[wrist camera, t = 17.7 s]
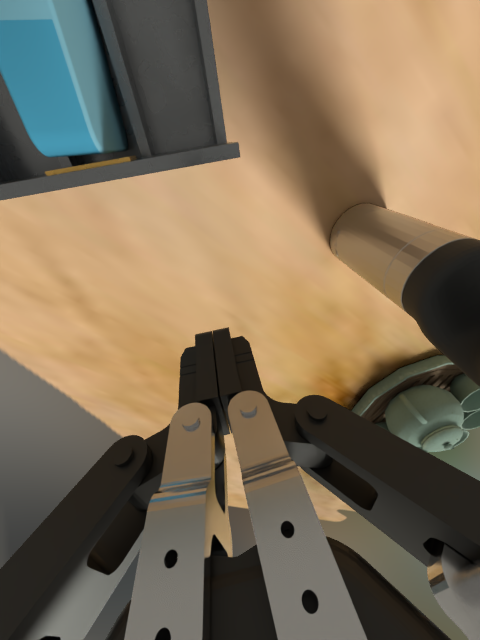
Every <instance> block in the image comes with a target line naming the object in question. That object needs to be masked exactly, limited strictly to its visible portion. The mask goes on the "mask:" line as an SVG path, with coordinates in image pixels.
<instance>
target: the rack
mask: <svg viewBox="0 0 480 640" xmlns="http://www.w3.org/2000/svg"><path fill="white" fill-rule="evenodd" d="M91 1H92V4H93V8H94V11H95V15H96V19H97V23H98V27H99V31H100V35H101V39H102V42H103V46H104V50H105V54H106V58H107V62H108V66H109V70H110V74H111V77H112V81H113V85H114V89H115V93H116V97H117V101H118V105H119V109H120V112H121V116H122V120H123V124H124V128H125V132H126V136H127V142H128V149H127V150H126V151H121V152H113V153H105V154H93V155H79V156H65V157H47V156H45V155H43V154H42V153H41V152H40V151H39V150H38V149H37V148H36V147H35V145H34V144H33V142H32V141H31V139H30V137H29V135H28V133H27V131H26V129H25V127H24V125H23V122H22V120H21V118H20V116H19V113H18V111H17V109H16V106H15V104H14V102H13V100H12V97H11V95H10V93H9V91H8V88H7V86H6V84H5V82H4V79H3V77H2V75H1V72H0V200H6V199H11V198H17V197H22V196H28V195H33V194H39V193H44V192H50V191H55V190H61V189H67V188H72V187H78V186H83V185H89V184H94V183H100V182H105V181H111V180H116V179H122V178H127V177H133V176H138V175H144V174H150V173H155V172H161V171H166V170H172V169H177V168H183V167H188V166H194V165H199V164H205V163H210V162H216V161H222V160H227V159H233V158H238V157H240V152H239V144H238V142H227V140H226V133H225V126H224V119H223V112H222V105H221V98H220V91H219V84H218V77H217V70H216V62H215V55H214V48H213V41H212V34H211V27H210V20H209V13H208V6H207V0H91Z"/></svg>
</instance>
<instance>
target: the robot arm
mask: <svg viewBox="0 0 480 640" xmlns="http://www.w3.org/2000/svg"><path fill="white" fill-rule="evenodd" d="M330 246H331V250H332V252H333V254H334V255H335V256H336V257H337V258H338V259H339V260H341V261H342V262H343V263H344V264H346V265H347V266H348V267H349V268H351V269H352V270H353V271H354V272H356V273H357V274H358V275H359V276H361V277H362V278H363V279H365V280H366V281H367V282H368V283H370V284H371V285H372V286H373V287H375V288H376V289H377V290H379V291H380V292H381V293H382V294H384V295H385V296H386V297H388V298H389V299H390V300H391V301H393V302H394V303H395V304H397V305H398V306H399V307H400V308H402V309H403V310H404V311H405V312H407V313H408V314H409V315H410V316H412V317H413V318H414V319H415V320H416V322H417V323H418V325H419V327H420V329H421V331H422V332H423V334H424V335H425V336H426V338H427V339H428V340H429V341H430V342H431V343H432V344H433V345H434V346H435V347H436V348H437V349H438V350H439V351H440V352H442V353H443V354H444V355H445V356H446V357H447V358H448V359H449V360H450V361H451V362H452V363H454V364H455V365H456V366H457V367H458V368H459V369H460V370H461V371H462V372H463V373H465V374H466V375H467V376H468V377H469V378H470V379H471V380H472V381H473V382H475V383H476V384H477V385H478V386H479V387H480V240H477V239H474V238H471V237H468V236H465V235H462V234H459V233H456V232H453V231H450V230H447V229H444V228H441V227H438V226H435V225H433V224H430V223H427V222H425V221H422V220H419V219H416V218H413V217H410V216H407V215H404V214H401V213H398V212H395V211H392V210H389V209H385V208H382V207H379V206H376V205H373V204H369V203H364V204H359V205H356V206H354V207H352V208H350V209H349V210H347V211H346V212H345V213H344V214H343V215H341V217H340V218H339V219H338V220H337V222H336V224H335V225H334V227H333V230H332V232H331V237H330ZM180 368H181V369H180V384H179V405H178V411H177V412H176V413H175V414H174V416H173V417H172V419H171V423H170V424H169V425H168V426H167V427H166V428H165V429H163V430H162V431H160V432H158V433H156V434H154V435H153V436H151V437H149V438H147V439H145V440H144V439H143V438H142V437H140V436H137V435H130V436H126V437H124V438H122V439H120V440H118V441H117V442H115V443H114V444H113V445H112V446H111V447H110V448H109V449H108V450H107V451H106V452H105V454H104V455H103V456H102V457H101V458H100V459H99V460H98V461H97V462H96V464H95V465H94V466H93V467H92V468H91V469H90V470H89V471H88V473H87V474H86V475H85V476H84V477H83V478H82V479H81V480H80V481H79V482H78V484H77V485H76V486H75V487H74V488H73V489H72V490H71V491H70V492H69V494H68V495H67V496H66V497H65V498H64V499H63V500H62V501H61V502H60V503H59V505H58V506H57V507H56V508H55V509H54V510H53V511H52V512H51V514H50V515H49V516H48V517H47V518H46V519H45V520H44V521H43V522H42V523H41V525H40V526H39V527H38V528H37V529H36V530H35V531H34V532H33V534H32V535H31V536H30V537H29V538H28V539H27V540H26V541H25V542H24V543H23V545H22V546H21V547H20V548H19V549H18V550H17V551H16V552H15V553H14V555H13V556H12V557H11V558H10V559H9V560H8V561H7V562H6V564H5V565H4V566H3V567H2V568H1V569H0V640H83V639H84V637H85V636H86V634H87V633H88V631H89V629H90V628H91V626H92V624H93V623H94V621H95V620H96V618H97V617H98V615H99V613H100V612H101V610H102V609H103V607H104V606H105V604H106V602H107V600H108V599H109V597H110V596H111V594H112V593H113V591H114V590H115V588H116V586H117V585H118V583H119V581H120V580H121V578H122V576H123V575H124V574H125V572H126V571H127V569H128V567H129V566H130V564H131V563H132V561H133V559H134V558H135V556H136V555H137V553H138V551H139V550H140V554H139V560H138V565H137V571H136V577H135V582H134V588H133V593H132V599H131V600H130V602H129V603H128V604H127V605H126V607H125V608H124V609H123V611H122V612H121V614H120V615H119V617H118V618H117V620H116V622H115V623H114V625H113V627H112V628H111V631H110V632H109V634H108V636H107V637H106V639H105V640H451V639H450V638H448V636H447V635H446V634H444V633H443V632H442V631H441V630H440V629H439V628H438V627H437V626H436V625H435V624H434V623H433V622H432V621H430V620H429V619H428V618H427V617H426V616H425V615H424V614H423V613H422V612H421V611H420V610H419V609H417V608H416V607H415V606H414V605H413V604H412V603H411V602H410V601H409V600H408V599H407V598H406V597H405V596H404V595H402V594H401V593H400V592H399V591H398V590H397V589H396V588H395V587H394V586H393V585H392V584H390V583H389V582H388V581H387V580H386V579H385V578H384V577H383V576H382V575H381V574H380V573H379V572H378V571H377V570H376V569H374V568H373V567H372V566H371V565H370V564H369V563H368V562H367V561H366V560H365V559H363V558H362V557H361V556H360V555H359V554H358V553H356V552H355V551H354V550H352V549H351V548H349V547H348V546H346V545H344V544H343V543H341V542H339V541H337V540H334V539H332V538H330V537H326V536H325V534H324V531H323V529H322V526H321V524H320V521H319V519H318V516H317V514H316V511H315V509H314V507H313V504H312V502H311V499H310V497H309V494H308V492H307V489H306V487H305V484H304V482H303V479H302V477H301V474H300V472H299V470H298V468H297V466H300V467H301V468H302V469H303V470H304V471H305V472H306V473H308V474H309V475H310V476H311V477H313V478H314V479H315V480H317V481H318V482H319V483H320V484H322V485H323V486H324V487H326V488H327V489H328V490H329V491H331V492H332V493H333V494H334V495H336V496H337V497H338V498H340V499H341V500H342V501H343V502H345V503H346V504H347V505H349V506H350V507H351V508H352V509H354V510H355V511H356V512H358V513H359V514H360V515H361V516H363V517H364V518H365V519H367V520H368V521H369V522H370V523H372V524H373V525H374V526H376V527H377V528H378V529H379V530H381V531H382V532H384V533H385V534H386V535H387V536H388V537H390V538H391V539H392V540H394V541H395V542H396V543H397V544H399V545H400V546H401V547H403V548H404V549H405V550H406V551H408V552H409V553H410V554H412V555H413V556H414V557H415V558H417V559H418V560H419V561H421V562H422V563H423V564H425V565H426V566H427V567H428V569H427V570H428V571H427V572H428V579H429V584H430V587H431V590H432V592H433V594H434V596H435V598H436V600H437V602H438V603H439V605H440V606H441V608H442V609H443V611H444V612H445V613H446V614H447V616H448V617H449V618H451V620H452V621H453V622H454V623H455V624H456V625H457V626H458V627H459V628H460V629H461V630H462V631H463V632H464V634H465V635H466V636H467V637H468V639H469V640H480V481H479V480H477V479H475V478H473V477H471V476H469V475H468V474H466V473H464V472H462V471H460V470H458V469H456V468H455V467H453V466H451V465H449V464H447V463H445V462H444V461H442V460H440V459H438V458H436V457H434V456H433V455H431V454H429V453H427V452H425V451H423V450H422V449H420V448H418V447H416V446H414V445H412V444H411V443H409V442H407V441H405V440H403V439H401V438H400V437H398V436H396V435H394V434H392V433H390V432H389V431H387V430H385V429H383V428H381V427H379V426H378V425H376V424H374V423H372V422H370V421H368V420H367V419H365V418H363V417H361V416H359V415H357V414H356V413H354V412H352V411H350V410H348V409H346V408H345V407H343V406H341V405H339V404H337V403H335V402H334V401H332V400H330V399H328V398H326V397H323V396H319V395H309V396H306V397H304V398H302V399H301V400H299V402H298V403H297V404H292V403H282V402H277V401H275V400H273V399H271V398H270V397H268V396H267V395H266V394H265V392H264V391H263V388H262V385H261V381H260V378H259V375H258V371H257V368H256V364H255V361H254V357H253V354H252V351H251V347H250V344H249V342H248V341H247V340H246V339H245V338H244V337H243V336H240V337H236V338H231V337H230V332H229V327H228V328H223V329H219V330H214V331H213V334H212V331H210V332H205V333H200V334H196V335H195V346H194V347H189V348H186V349H185V351H184V353H183V354H182V356H181V362H180ZM229 427H230V430H231V433H233V437H234V442H235V446H236V451H237V455H238V459H239V464H240V468H241V473H242V480H243V485H244V490H245V494H246V499H247V503H248V508H249V512H250V517H251V521H252V525H253V530H254V534H255V539H256V543H257V545H255V546H253V547H252V548H250V549H249V550H247V551H246V552H244V553H243V554H241V555H239V556H238V557H233V554H232V537H231V529H230V523H229V517H228V496H227V470H226V454H225V443H224V435H227V434H230V432H229ZM140 548H141V549H140ZM177 557H178V558H177Z"/></svg>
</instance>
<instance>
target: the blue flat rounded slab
mask: <svg viewBox="0 0 480 640" xmlns="http://www.w3.org/2000/svg"><path fill="white" fill-rule="evenodd" d="M0 72H1V75H2V77H3V79H4V82H5V84H6V86H7V88H8V91H9V93H10V95H11V97H12V100H13V102H14V104H15V106H16V109H17V111H18V113H19V116H20V118H21V120H22V122H23V125H24V127H25V129H26V131H27V133H28V135H29V137H30V139H31V141H32V142H33V144H34V145H35V147H36V148H37V149H38V150H39V151H40V152H41V153H42V154H43V155H45V156H47V157H65V156H79V155H93V154H105V153H113V152H121V151H126V150H127V149H128V142H127V136H126V132H125V128H124V124H123V120H122V116H121V112H120V109H119V105H118V101H117V97H116V93H115V89H114V85H113V81H112V77H111V74H110V70H109V66H108V62H107V58H106V54H105V50H104V46H103V42H102V39H101V35H100V31H99V27H98V23H97V19H96V15H95V11H94V8H93V4H92V1H91V0H0Z"/></svg>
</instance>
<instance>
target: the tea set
mask: <svg viewBox="0 0 480 640" xmlns="http://www.w3.org/2000/svg"><path fill="white" fill-rule="evenodd" d="M352 412H354V413H356V414H357V415H359V416H361V417H363V418H365V419H367V420H368V421H370V422H372V423H374V424H376V425H378V426H379V427H381V428H383V429H385V430H387V431H389V432H390V433H392V434H394V435H396V436H398V437H400V438H401V439H403V440H405V441H407V442H409V443H411V444H412V445H414V446H416V447H418V448H420V449H422V450H423V451H425V452H427V453H428V452H438V451H444V450H448V449H454V447H455V446H457V445H459V444H460V443H462V442H463V441H464V440H465V439H466V438H467V437H468V436H469V431H467V430H469V429H474V428H478V427H480V387H479V386H478V385H477V384H476V383H475V382H473V381H472V380H471V379H470V378H469V377H468V376H467V375H466V374H465V373H463V372H462V371H461V370H460V369H459V368H458V367H457V366H456V365H455V364H454V363H452V362H451V361H450V360H449V359H448V358H447V357H446V356H445V355H436V356H434V357H431V358H428V359H425V360H422V361H419V362H416V363H413V364H410V365H408V366H405V367H402V368H400V369H398V370H397V371H395V372H394V373H392V374H391V375H389V376H388V377H386V378H385V379H383V380H382V381H380V382H379V383H377V384H376V385H374V386H373V387H371V388H370V389H368V390H367V392H366V393H365V394H364V396H363V397H362V398H361V399H360V401H359V402H358V403H357V404H356V406H355V407H354V408H353V409H352Z"/></svg>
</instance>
